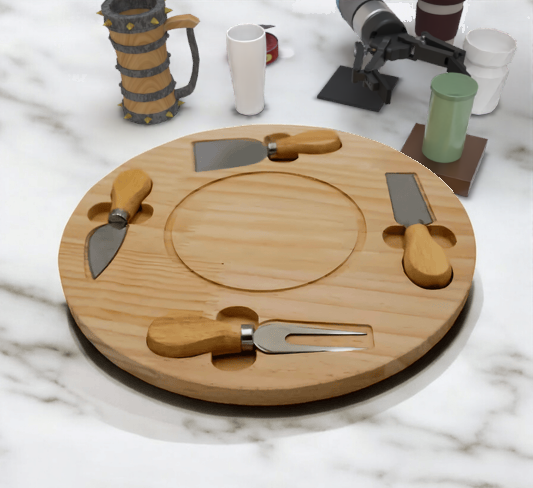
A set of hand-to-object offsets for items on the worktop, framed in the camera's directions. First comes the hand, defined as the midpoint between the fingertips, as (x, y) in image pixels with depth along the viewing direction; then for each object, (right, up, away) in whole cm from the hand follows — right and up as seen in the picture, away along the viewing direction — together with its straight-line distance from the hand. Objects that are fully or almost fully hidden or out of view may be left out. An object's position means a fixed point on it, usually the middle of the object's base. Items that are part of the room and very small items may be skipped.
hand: (428, 90), depth 104 cm
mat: (-9, +5, +19) cm, 22 cm away
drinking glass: (-29, 0, +16) cm, 33 cm away
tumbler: (+2, -10, 0) cm, 10 cm away
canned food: (-28, +14, +30) cm, 44 cm away
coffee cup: (+8, +14, +29) cm, 33 cm away
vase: (+12, +1, +15) cm, 19 cm away
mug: (-45, +1, +17) cm, 48 cm away
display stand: (+2, -12, +2) cm, 12 cm away
